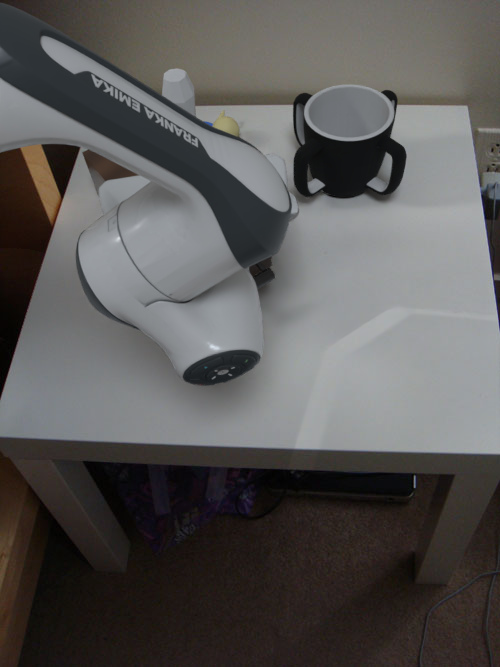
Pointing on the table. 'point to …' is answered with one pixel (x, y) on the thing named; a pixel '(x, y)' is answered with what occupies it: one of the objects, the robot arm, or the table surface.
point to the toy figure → (226, 124)
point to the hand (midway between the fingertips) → (188, 150)
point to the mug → (346, 141)
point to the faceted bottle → (179, 89)
